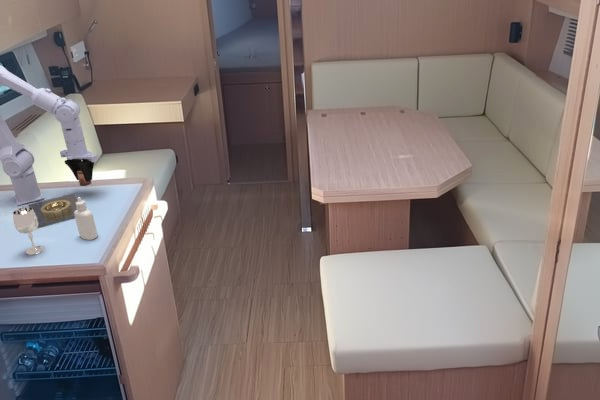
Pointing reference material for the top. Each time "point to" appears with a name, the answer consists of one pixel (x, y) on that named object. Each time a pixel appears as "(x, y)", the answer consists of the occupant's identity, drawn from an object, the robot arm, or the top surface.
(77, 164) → the robot arm
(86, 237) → the eye dropper bottle
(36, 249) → the wineglass
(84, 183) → the round knob
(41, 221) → the collar plate
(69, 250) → the top surface
